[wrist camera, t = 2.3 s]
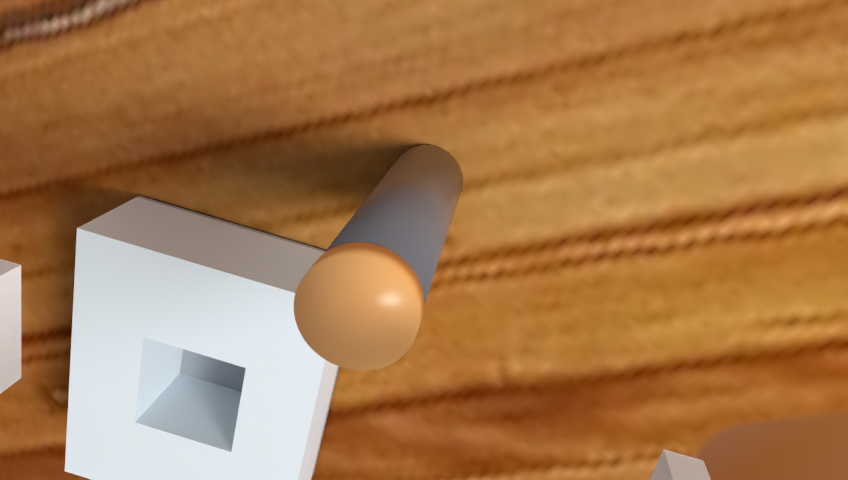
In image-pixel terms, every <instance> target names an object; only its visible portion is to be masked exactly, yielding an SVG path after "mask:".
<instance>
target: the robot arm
mask: <svg viewBox="0 0 848 480" xmlns="http://www.w3.org/2000/svg"><path fill="white" fill-rule="evenodd" d="M20 378H21V265H20V264H16V263H13V262H9V261H6V260H2V259H0V393H2V392H3V391H4V390H6V389H7V388H8V387H10V386H11V385H12V384H14V383H15V382H16V381H18V380H19V379H20ZM649 480H710V477H709V474H708V472H707V469H706V466H705V464H704V461H703V460H700V459H696V458H693V457H689V456H686V455H682V454H679V453H675V452H672V451H668V450H665V449H663V452H662V454H661V456H660V458H659V460H658V462H657V464H656V467H655V469H654V471H653V473H652V475H651V477H650V479H649Z"/></svg>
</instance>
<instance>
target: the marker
mask: <svg viewBox="0 0 848 480" xmlns="http://www.w3.org/2000/svg"><path fill="white" fill-rule="evenodd" d="M462 184H463V178H462V172H461V169H460V167H459V165H458V163H457V161H456V160H455V159H454V157H453V156H452V155H451V154H450V153H448V152H447V151H445V150H444V149H442V148H439V147H437V146H433V145H419V146H415V147H412V148H410V149H408V150H407V151H405V152H404V153H403V154H401V156H400V157H399V158H398V159H397V160H396V162H395V163H394V164H393V165H392V167H391V168H390V169H389V171H388V172H387V173H386V174H385V176H384V177H383V178H382V180H381V181H380V182H379V183H378V185H377V186H376V187H375V189H374V190H373V191H372V192H371V194H370V195H369V196H368V198H367V199H366V200H365V201H364V203H363V204H362V205H361V207H360V208H359V209H358V210H357V212H356V213H355V214H354V216H353V217H352V218H351V219H350V221H349V222H348V223H347V224H346V226H345V227H344V228H343V230H342V231H341V232H340V233H339V235H338V236H337V237H336V239H335V240H334V241H333V242H332V244H331V245H330V246H329V248H328V249H327V250H326V251H325V253H324V254H323V255H321V256H320V257H319V258H318V259H317V260H316V262H315V263H314V264H313V265H312V266H311V268H310V269H309V270H308V272H307V273H306V274H305V275H304V277H303V278H302V280H301V281H300V283H299V285H298V287H297V290H296V293H295V297H294V316H295V321H296V324H297V327H298V329H299V331H300V334H301V335H302V337H303V339H304V340H305V341H306V343H307V344H308V345H309V346H310V347H311V349H312V350H313V351H314V352H316V353H317V354H318V355H319V356H321V357H322V358H324V359H325V360H327V361H328V362H330V363H332V364H334V365H337V366H340V367H342V368H346V369H350V370H358V371H368V370H375V369H380V368H383V367H386V366H388V365H390V364H392V363H394V362H396V361H397V360H398V359H400V358H401V357H402V356H403V355H404V354H405V353H406V352H407V351H408V350H409V348H410V347H411V345H412V344H413V342H414V340H415V337H416V335H417V332H418V328H419V325H420V322H421V319H422V316H423V311H424V304H425V301H426V298H427V295H428V292H429V289H430V286H431V282H432V279H433V276H434V273H435V270H436V267H437V264H438V261H439V258H440V255H441V252H442V249H443V245H444V242H445V239H446V236H447V233H448V230H449V227H450V224H451V221H452V218H453V215H454V211H455V208H456V205H457V202H458V199H459V196H460V193H461V190H462Z"/></svg>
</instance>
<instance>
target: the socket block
mask: <svg viewBox="0 0 848 480" xmlns="http://www.w3.org/2000/svg"><path fill="white" fill-rule="evenodd" d="M325 251H326V250H322V249H319V248H315V247H312V246H309V245H305V244H302V243H298V242H295V241H292V240H288V239H285V238H281V237H278V236H275V235H271V234H268V233H264V232H261V231H258V230H254V229H251V228H247V227H244V226H241V225H237V224H234V223H231V222H227V221H224V220H220V219H217V218H214V217H210V216H207V215H203V214H200V213H197V212H193V211H190V210H186V209H183V208H180V207H176V206H173V205H169V204H166V203H163V202H159V201H156V200H153V199H149V198H146V197H142V196H138V197H136V198H134V199H132V200H130V201H128V202H126V203H124V204H122V205H120V206H119V207H117V208H115V209H113V210H111V211H109V212H107V213H105V214H103V215H101V216H99V217H97V218H95V219H93V220H92V221H90V222H88V223H86V224H84V225H82V226H80V227H78V228H77V237H76V257H75V277H74V297H73V317H72V337H71V357H70V377H69V397H68V417H67V437H66V457H65V471H66V472H69V473H73V474H76V475H79V476H82V477H85V478H88V479H92V480H311V478H312V476H313V474H314V470H315V466H316V461H317V457H318V453H319V449H320V445H321V440H322V436H323V432H324V428H325V424H326V419H327V415H328V411H329V407H330V403H331V398H332V394H333V390H334V386H335V382H336V377H337V373H338V369H339V366H337V365H334V364H332V363H330V362H328V361H327V360H325V359H324V358H322V357H321V356H319V355H318V354H317V353H316V352H314V351H313V350H312V349H311V347H310V346H309V345H308V344H307V343H306V341H305V340H304V339H303V337H302V335H301V334H300V331H299V329H298V327H297V324H296V321H295V316H294V297H295V293H296V290H297V287H298V285H299V283H300V281H301V280H302V278H303V277H304V275H305V274H306V273H307V272H308V270H309V269H310V268H311V266H312V265H313V264H314V263H315V262H316V260H317V259H318V258H319V257H320V256H321V255H323V254H324V253H325Z"/></svg>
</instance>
